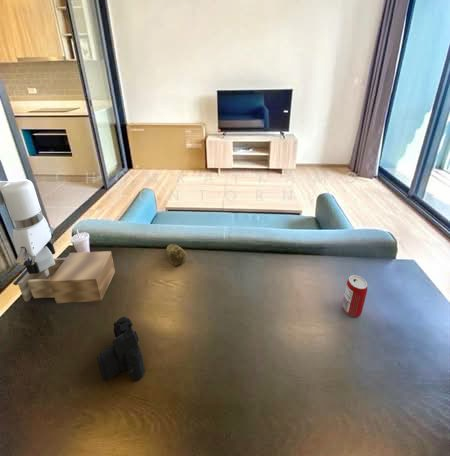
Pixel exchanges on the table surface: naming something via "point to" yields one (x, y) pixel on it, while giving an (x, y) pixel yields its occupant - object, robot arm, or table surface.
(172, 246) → the potato
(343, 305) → the soda can
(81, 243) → the smoothie
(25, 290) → the drawer
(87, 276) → the brown wooden box
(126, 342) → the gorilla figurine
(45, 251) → the small box
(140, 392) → the table surface
